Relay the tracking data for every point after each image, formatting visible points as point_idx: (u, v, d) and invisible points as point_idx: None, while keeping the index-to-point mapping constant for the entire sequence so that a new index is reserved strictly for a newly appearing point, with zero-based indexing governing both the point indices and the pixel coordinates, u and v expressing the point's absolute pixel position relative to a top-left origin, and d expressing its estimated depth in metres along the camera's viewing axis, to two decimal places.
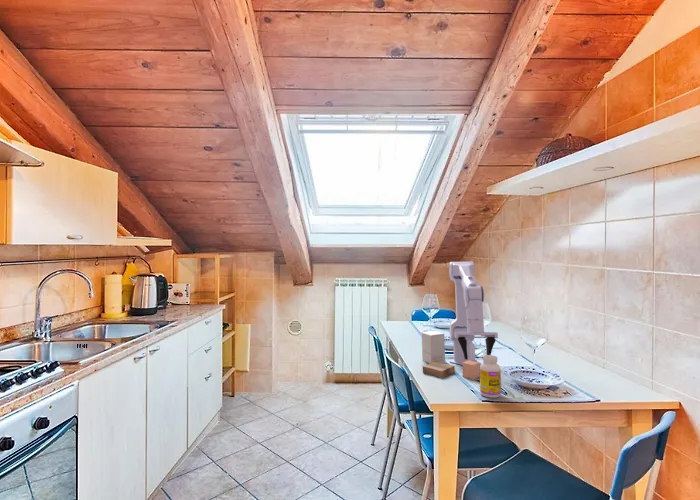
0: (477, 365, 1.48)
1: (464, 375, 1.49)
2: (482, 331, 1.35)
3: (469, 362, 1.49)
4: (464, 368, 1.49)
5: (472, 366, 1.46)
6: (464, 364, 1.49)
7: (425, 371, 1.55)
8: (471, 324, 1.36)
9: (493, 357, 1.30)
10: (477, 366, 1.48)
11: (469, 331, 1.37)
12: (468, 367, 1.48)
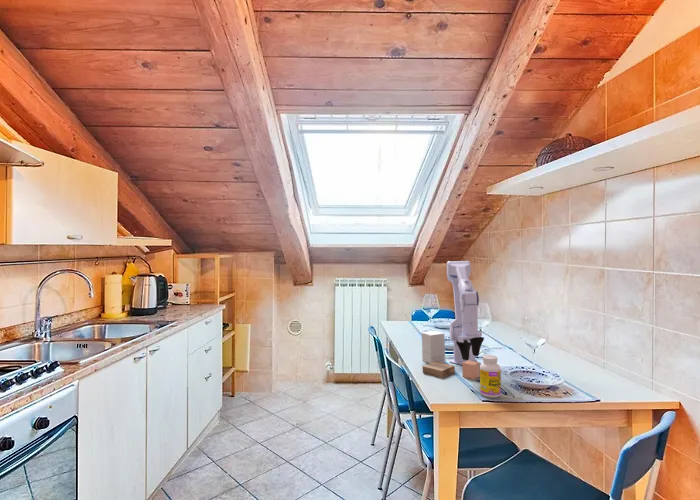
0: (477, 365, 1.48)
1: (464, 375, 1.49)
2: None
3: (469, 362, 1.49)
4: (464, 368, 1.49)
5: (472, 366, 1.46)
6: (464, 364, 1.49)
7: (425, 371, 1.55)
8: (472, 327, 1.46)
9: (493, 357, 1.30)
10: (477, 366, 1.48)
11: (470, 334, 1.47)
12: (468, 367, 1.48)
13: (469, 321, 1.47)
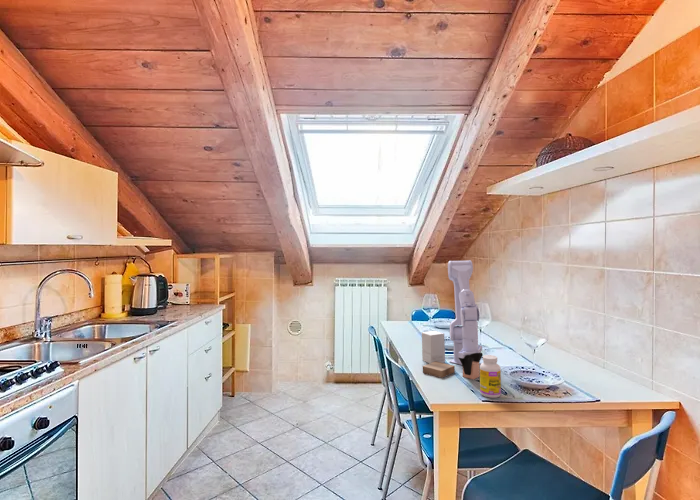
0: (477, 365, 1.48)
1: (464, 375, 1.49)
2: None
3: None
4: None
5: (472, 366, 1.46)
6: None
7: (425, 371, 1.55)
8: (473, 343, 1.46)
9: (493, 357, 1.30)
10: (477, 366, 1.48)
11: (470, 349, 1.47)
12: None
13: (469, 337, 1.47)
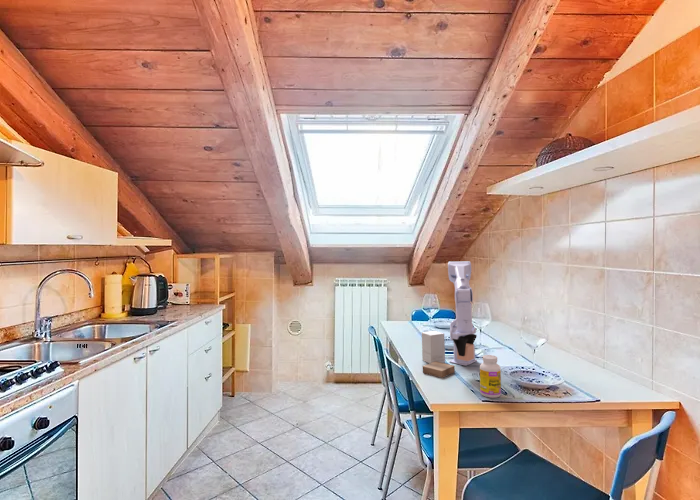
0: (471, 347, 1.49)
1: (458, 357, 1.50)
2: None
3: None
4: None
5: (466, 348, 1.47)
6: None
7: (425, 371, 1.55)
8: (467, 324, 1.47)
9: (493, 357, 1.30)
10: (471, 348, 1.49)
11: (464, 331, 1.48)
12: None
13: (462, 318, 1.48)
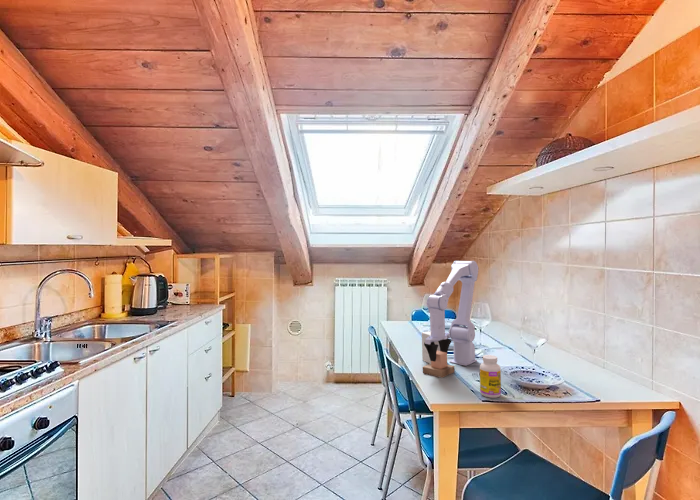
0: (444, 355, 1.54)
1: (432, 365, 1.55)
2: None
3: (437, 352, 1.55)
4: None
5: (439, 356, 1.52)
6: None
7: (425, 371, 1.55)
8: (439, 330, 1.52)
9: (493, 357, 1.30)
10: (445, 356, 1.54)
11: (437, 336, 1.53)
12: (436, 357, 1.53)
13: (432, 323, 1.54)
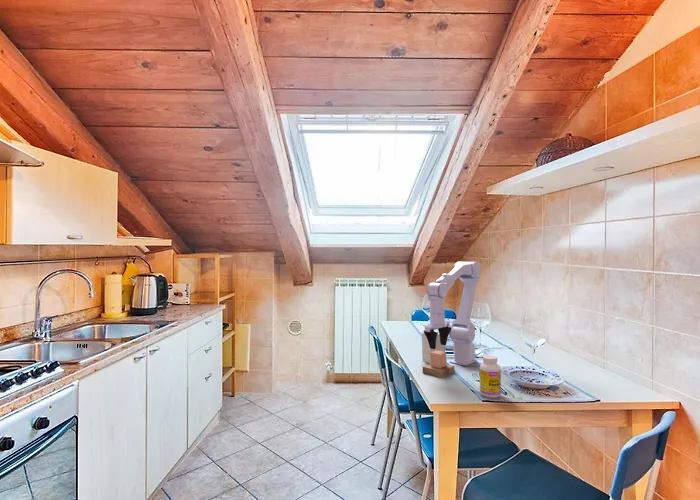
0: (444, 354, 1.54)
1: (432, 364, 1.55)
2: (444, 322, 1.55)
3: (437, 352, 1.55)
4: (432, 357, 1.55)
5: (439, 355, 1.53)
6: (432, 354, 1.55)
7: (425, 371, 1.55)
8: (439, 317, 1.52)
9: (493, 357, 1.30)
10: (444, 355, 1.55)
11: (437, 324, 1.53)
12: (435, 356, 1.54)
13: (431, 311, 1.54)
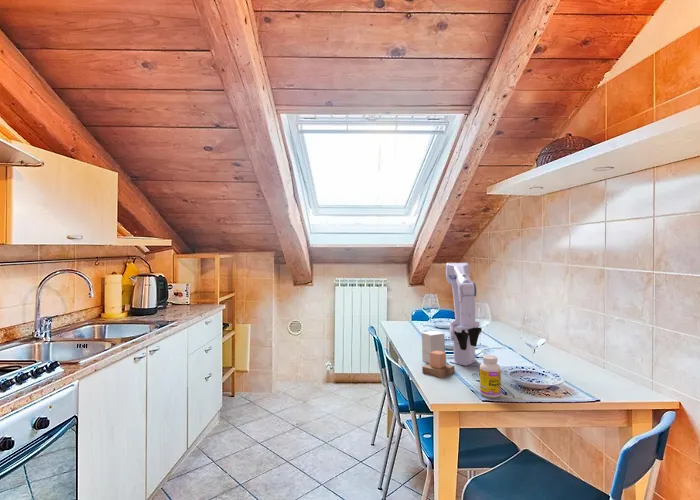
0: (443, 355, 1.54)
1: (431, 364, 1.55)
2: None
3: (436, 352, 1.55)
4: (431, 358, 1.55)
5: (438, 355, 1.53)
6: (431, 354, 1.55)
7: (425, 371, 1.55)
8: (470, 318, 1.49)
9: (493, 357, 1.30)
10: (444, 356, 1.54)
11: (468, 324, 1.49)
12: (435, 357, 1.54)
13: (467, 312, 1.49)
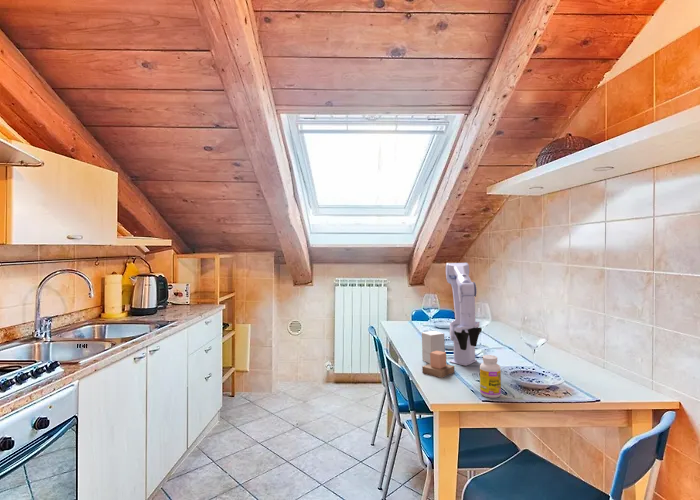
0: (444, 355, 1.54)
1: (432, 365, 1.55)
2: None
3: (436, 352, 1.55)
4: (432, 358, 1.55)
5: (439, 356, 1.52)
6: (431, 354, 1.55)
7: (425, 371, 1.55)
8: (470, 318, 1.49)
9: (493, 357, 1.30)
10: (444, 356, 1.54)
11: (468, 324, 1.49)
12: (435, 357, 1.54)
13: (467, 312, 1.49)
